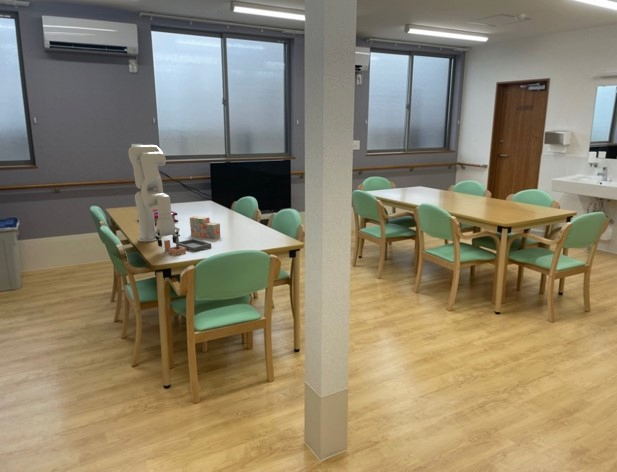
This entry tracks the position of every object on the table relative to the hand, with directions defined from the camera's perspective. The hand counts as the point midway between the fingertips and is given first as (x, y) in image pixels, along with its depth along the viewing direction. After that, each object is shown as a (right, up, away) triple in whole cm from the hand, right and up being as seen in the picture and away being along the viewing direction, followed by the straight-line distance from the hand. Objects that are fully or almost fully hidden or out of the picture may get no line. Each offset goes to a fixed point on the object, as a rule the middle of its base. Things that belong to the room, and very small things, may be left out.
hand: (167, 244), depth 276 cm
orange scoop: (+4, -4, -3) cm, 7 cm away
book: (-32, +16, +84) cm, 91 cm away
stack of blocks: (+15, +5, +35) cm, 38 cm away
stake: (+8, -5, -6) cm, 11 cm away
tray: (+14, -1, +7) cm, 16 cm away
